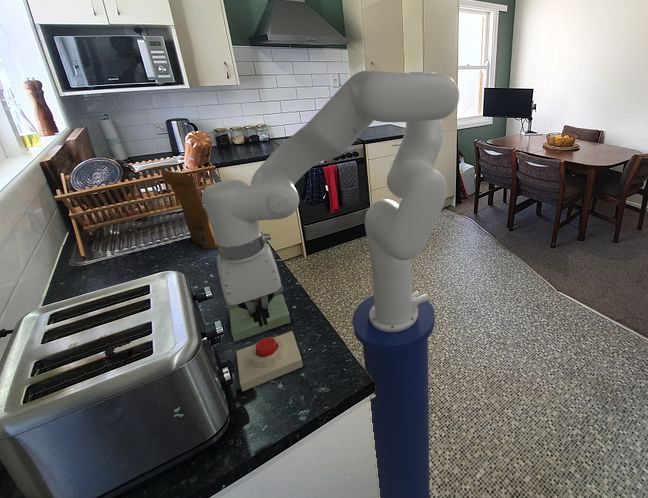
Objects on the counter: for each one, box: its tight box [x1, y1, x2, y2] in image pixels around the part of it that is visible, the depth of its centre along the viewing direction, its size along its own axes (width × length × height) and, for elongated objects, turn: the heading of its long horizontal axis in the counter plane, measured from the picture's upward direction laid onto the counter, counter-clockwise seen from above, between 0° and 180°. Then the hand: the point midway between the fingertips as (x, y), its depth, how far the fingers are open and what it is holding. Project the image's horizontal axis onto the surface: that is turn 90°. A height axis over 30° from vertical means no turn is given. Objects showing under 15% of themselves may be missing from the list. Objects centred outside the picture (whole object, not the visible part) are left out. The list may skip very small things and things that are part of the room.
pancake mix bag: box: [160, 169, 218, 250], centre depth 122 cm, size 7×19×28 cm, turn 55°
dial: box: [248, 297, 268, 318], centre depth 87 cm, size 4×4×5 cm
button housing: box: [235, 330, 304, 392], centre depth 76 cm, size 12×10×4 cm
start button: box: [255, 336, 277, 357], centre depth 75 cm, size 4×4×2 cm
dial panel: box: [228, 293, 291, 342], centre depth 89 cm, size 13×10×3 cm
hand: (262, 321), depth 72 cm, fingers closed
